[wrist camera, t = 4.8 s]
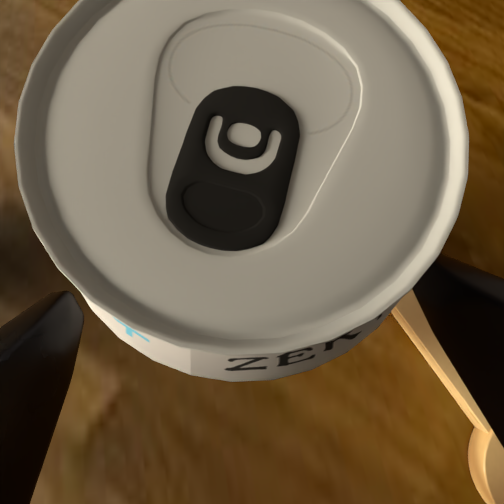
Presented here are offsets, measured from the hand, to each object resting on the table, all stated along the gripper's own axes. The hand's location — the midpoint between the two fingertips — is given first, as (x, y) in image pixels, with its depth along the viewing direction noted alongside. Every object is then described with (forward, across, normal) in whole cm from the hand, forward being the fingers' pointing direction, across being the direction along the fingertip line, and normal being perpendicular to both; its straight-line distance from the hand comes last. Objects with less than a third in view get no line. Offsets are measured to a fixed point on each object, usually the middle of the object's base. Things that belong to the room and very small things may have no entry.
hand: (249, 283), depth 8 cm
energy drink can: (+8, 0, +6) cm, 10 cm away
